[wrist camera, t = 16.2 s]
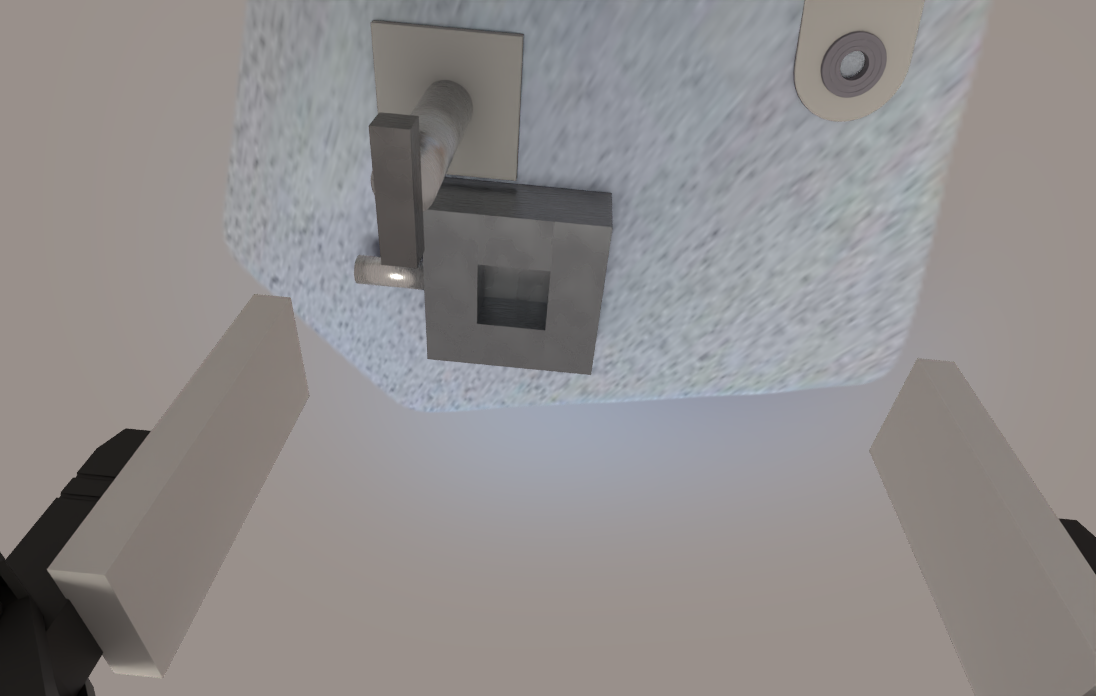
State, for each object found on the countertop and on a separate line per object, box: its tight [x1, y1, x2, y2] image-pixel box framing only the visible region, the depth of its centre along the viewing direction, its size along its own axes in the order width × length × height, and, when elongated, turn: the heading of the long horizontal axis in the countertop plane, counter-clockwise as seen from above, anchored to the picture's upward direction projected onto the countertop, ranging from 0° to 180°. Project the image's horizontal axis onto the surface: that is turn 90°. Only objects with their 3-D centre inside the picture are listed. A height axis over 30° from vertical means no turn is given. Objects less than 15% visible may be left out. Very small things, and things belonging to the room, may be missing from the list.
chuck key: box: [369, 80, 473, 268], centre depth 37 cm, size 7×3×14 cm, turn 176°
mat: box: [371, 20, 524, 181], centre depth 43 cm, size 9×9×1 cm
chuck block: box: [354, 177, 612, 375], centre depth 48 cm, size 12×17×5 cm
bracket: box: [794, 0, 925, 122], centre depth 38 cm, size 7×10×4 cm, turn 3°
